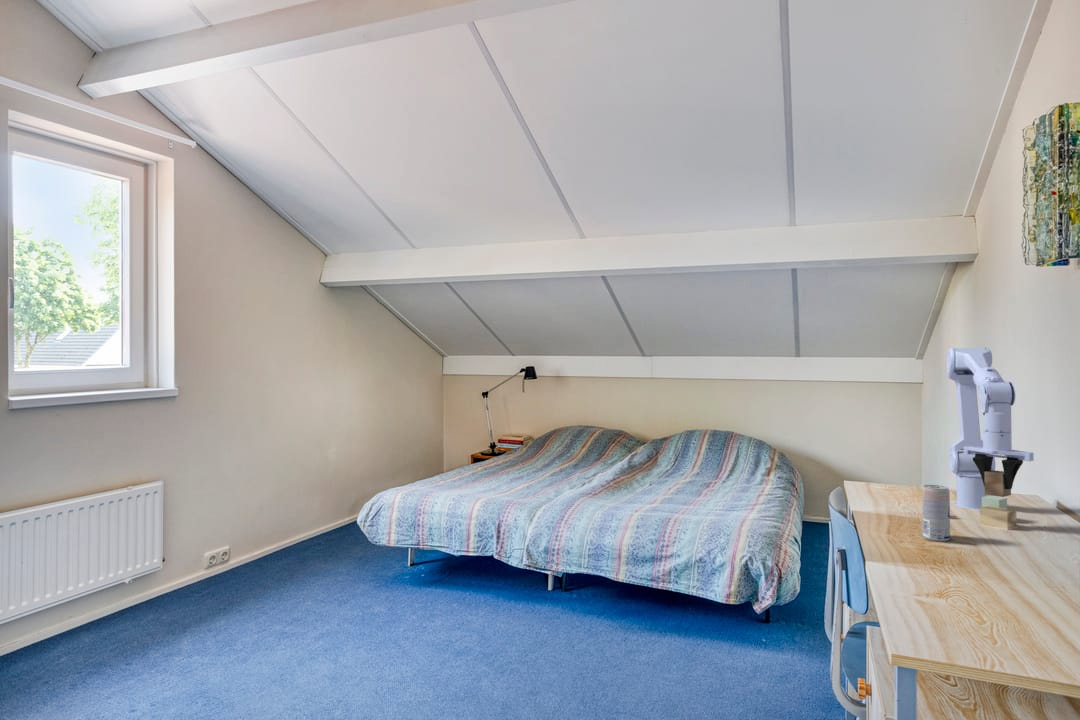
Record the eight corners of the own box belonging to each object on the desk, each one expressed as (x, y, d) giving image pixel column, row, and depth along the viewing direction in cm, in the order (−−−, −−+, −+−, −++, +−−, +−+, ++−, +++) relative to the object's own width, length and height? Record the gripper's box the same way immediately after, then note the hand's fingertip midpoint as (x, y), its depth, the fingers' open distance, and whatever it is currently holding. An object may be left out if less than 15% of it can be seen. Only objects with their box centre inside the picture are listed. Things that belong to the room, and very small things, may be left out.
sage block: (989, 516, 170) (989, 495, 170) (1007, 519, 167) (1007, 498, 167) (981, 518, 168) (981, 497, 168) (999, 522, 165) (999, 499, 165)
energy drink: (948, 537, 154) (947, 485, 154) (951, 543, 149) (951, 489, 149) (921, 534, 156) (921, 484, 156) (924, 540, 151) (923, 488, 151)
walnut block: (984, 494, 162) (984, 471, 162) (992, 492, 164) (992, 470, 164) (1002, 497, 159) (1002, 474, 159) (1011, 495, 161) (1010, 472, 161)
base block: (989, 521, 165) (989, 505, 165) (1016, 526, 160) (1016, 510, 160) (980, 524, 163) (979, 508, 163) (1007, 529, 158) (1007, 512, 158)
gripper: (956, 429, 166) (957, 484, 166) (1023, 435, 153) (1023, 494, 153) (971, 428, 169) (972, 481, 169) (1037, 433, 157) (1038, 490, 157)
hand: (997, 487), depth 161 cm, fingers closed on walnut block, 4 cm apart
